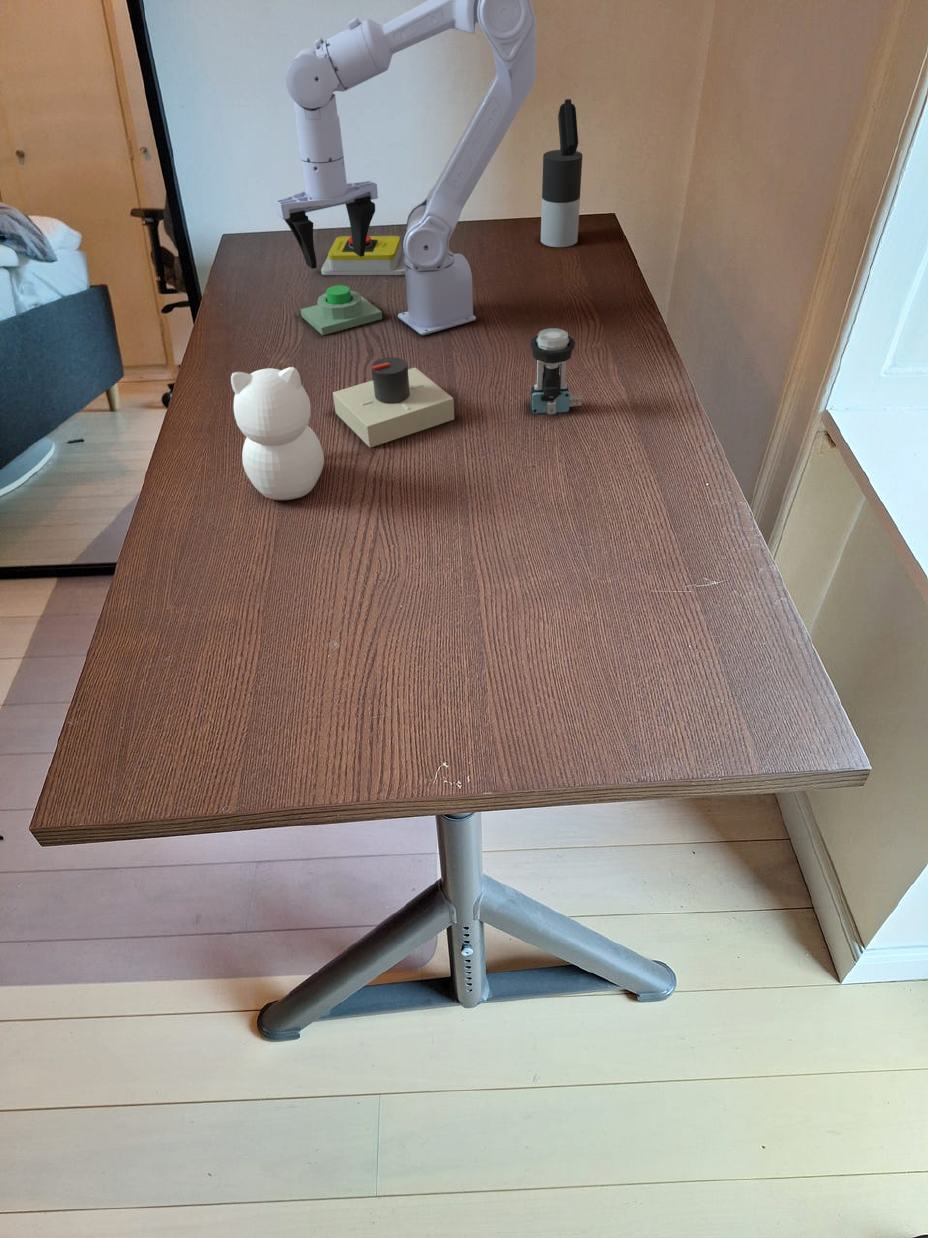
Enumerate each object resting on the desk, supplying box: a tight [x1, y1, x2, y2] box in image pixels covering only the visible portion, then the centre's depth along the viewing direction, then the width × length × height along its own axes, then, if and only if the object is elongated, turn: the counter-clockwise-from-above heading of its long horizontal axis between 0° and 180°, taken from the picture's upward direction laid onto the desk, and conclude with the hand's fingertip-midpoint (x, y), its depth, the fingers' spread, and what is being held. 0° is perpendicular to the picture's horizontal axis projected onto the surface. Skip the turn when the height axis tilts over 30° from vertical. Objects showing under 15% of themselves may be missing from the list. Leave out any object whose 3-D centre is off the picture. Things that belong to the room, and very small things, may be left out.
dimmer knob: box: [371, 356, 410, 403], centre depth 105 cm, size 4×4×4 cm
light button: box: [325, 284, 351, 305], centre depth 129 cm, size 4×4×2 cm
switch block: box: [300, 290, 383, 336], centre depth 130 cm, size 10×8×3 cm
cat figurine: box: [230, 366, 325, 501], centre depth 94 cm, size 9×12×15 cm
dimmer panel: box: [332, 367, 455, 449], centre depth 108 cm, size 12×10×3 cm
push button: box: [530, 327, 583, 415], centre depth 105 cm, size 7×5×10 cm
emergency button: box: [320, 234, 406, 276], centre depth 145 cm, size 9×4×15 cm
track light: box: [540, 98, 583, 248], centre depth 144 cm, size 6×17×20 cm
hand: (335, 260), depth 123 cm, fingers open, 7 cm apart
